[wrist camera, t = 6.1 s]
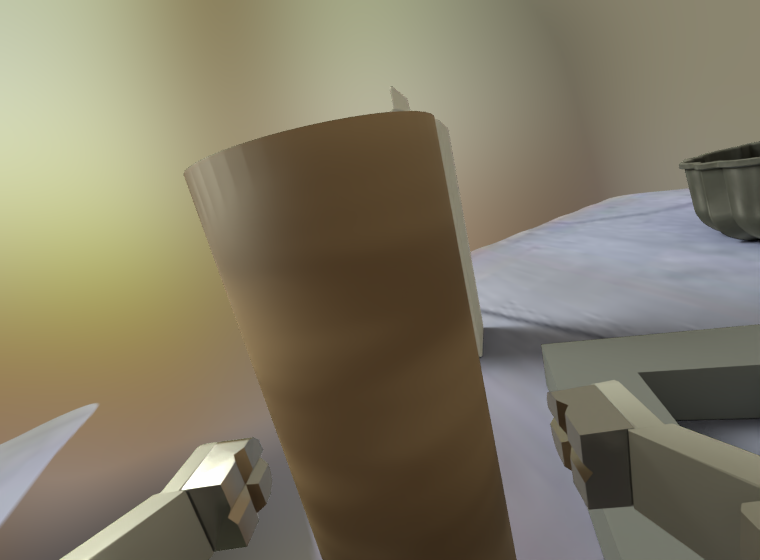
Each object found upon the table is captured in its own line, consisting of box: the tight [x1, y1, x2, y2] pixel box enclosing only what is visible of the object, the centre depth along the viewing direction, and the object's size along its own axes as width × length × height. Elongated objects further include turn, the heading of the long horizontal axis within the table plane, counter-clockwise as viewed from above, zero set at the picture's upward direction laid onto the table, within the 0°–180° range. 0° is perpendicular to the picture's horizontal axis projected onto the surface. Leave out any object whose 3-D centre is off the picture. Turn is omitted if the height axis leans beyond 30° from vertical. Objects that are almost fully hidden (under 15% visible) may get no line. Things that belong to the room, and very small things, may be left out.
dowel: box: [184, 111, 517, 560], centre depth 8 cm, size 4×4×16 cm
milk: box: [390, 86, 483, 357], centre depth 30 cm, size 6×6×22 cm
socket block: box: [541, 324, 760, 560], centre depth 15 cm, size 14×14×3 cm
